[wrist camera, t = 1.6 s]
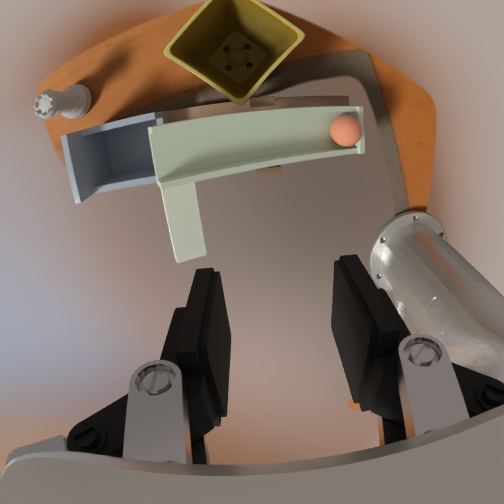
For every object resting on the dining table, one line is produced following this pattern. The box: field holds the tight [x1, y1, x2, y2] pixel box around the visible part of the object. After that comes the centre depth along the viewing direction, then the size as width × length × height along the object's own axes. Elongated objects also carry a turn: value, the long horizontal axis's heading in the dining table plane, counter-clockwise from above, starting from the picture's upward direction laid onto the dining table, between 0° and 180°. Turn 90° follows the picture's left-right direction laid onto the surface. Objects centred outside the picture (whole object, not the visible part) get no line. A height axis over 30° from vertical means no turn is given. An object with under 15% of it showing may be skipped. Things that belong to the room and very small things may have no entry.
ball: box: [330, 115, 362, 147], centre depth 26 cm, size 3×3×3 cm
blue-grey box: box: [61, 110, 170, 204], centre depth 30 cm, size 7×9×9 cm
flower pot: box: [164, 0, 305, 105], centre depth 25 cm, size 9×9×9 cm
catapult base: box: [168, 96, 349, 178], centre depth 29 cm, size 7×20×10 cm, turn 96°
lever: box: [148, 106, 365, 263], centre depth 26 cm, size 11×19×3 cm, turn 96°
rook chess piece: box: [34, 84, 91, 119], centre depth 27 cm, size 4×4×8 cm
